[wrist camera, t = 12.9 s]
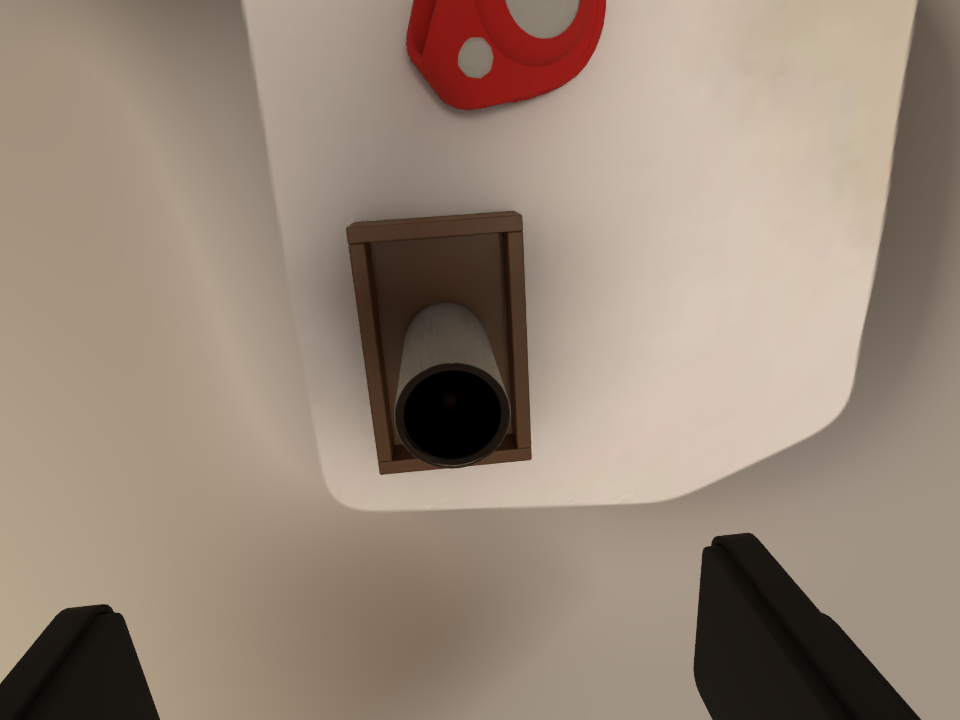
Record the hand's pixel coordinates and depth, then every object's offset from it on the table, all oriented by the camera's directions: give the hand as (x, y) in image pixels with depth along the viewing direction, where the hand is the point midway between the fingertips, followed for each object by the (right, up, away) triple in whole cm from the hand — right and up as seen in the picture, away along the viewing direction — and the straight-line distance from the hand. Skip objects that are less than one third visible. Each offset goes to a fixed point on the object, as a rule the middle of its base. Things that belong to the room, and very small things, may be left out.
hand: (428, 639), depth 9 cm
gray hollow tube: (-1, +6, +23) cm, 23 cm away
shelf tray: (-1, +6, +23) cm, 24 cm away
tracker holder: (+2, +23, +18) cm, 29 cm away
